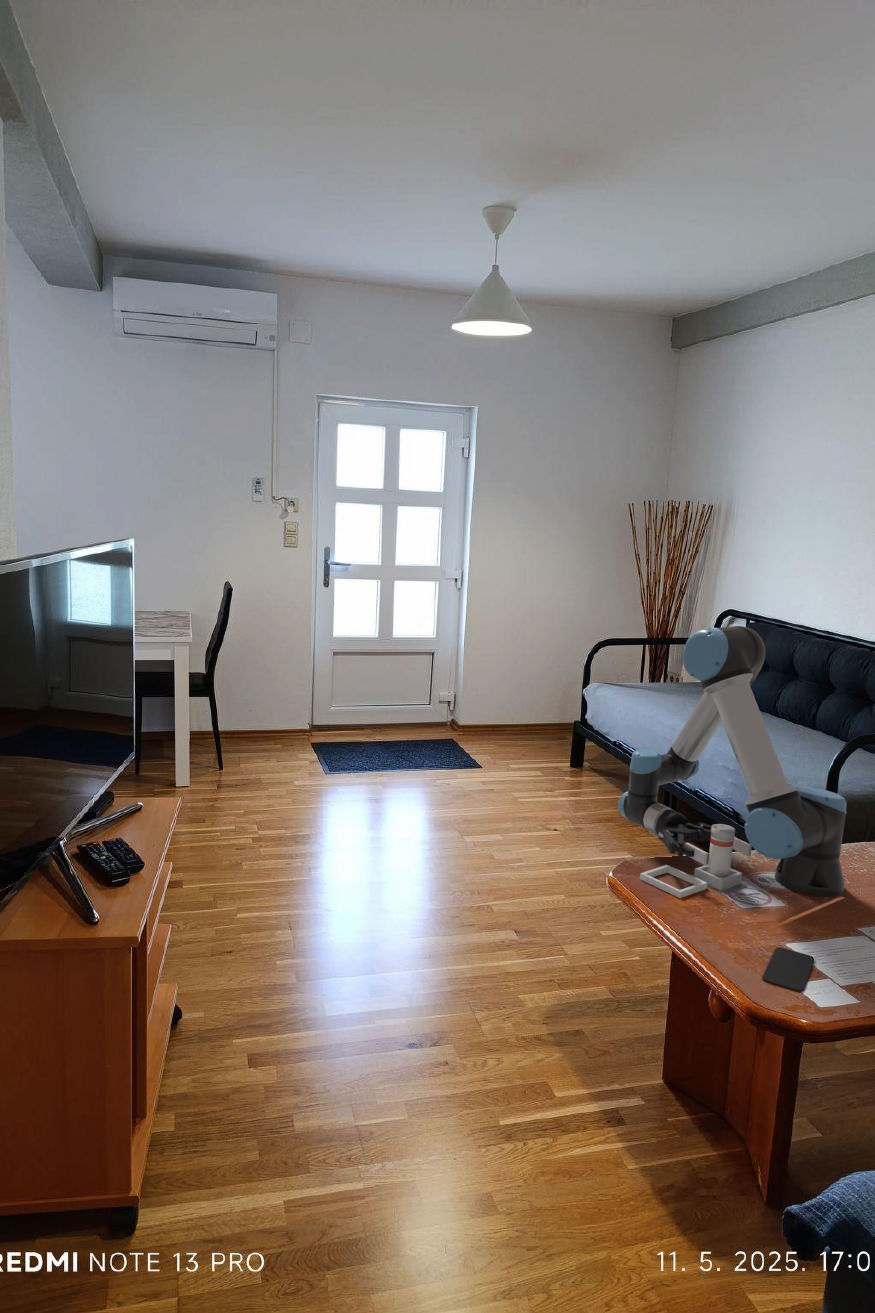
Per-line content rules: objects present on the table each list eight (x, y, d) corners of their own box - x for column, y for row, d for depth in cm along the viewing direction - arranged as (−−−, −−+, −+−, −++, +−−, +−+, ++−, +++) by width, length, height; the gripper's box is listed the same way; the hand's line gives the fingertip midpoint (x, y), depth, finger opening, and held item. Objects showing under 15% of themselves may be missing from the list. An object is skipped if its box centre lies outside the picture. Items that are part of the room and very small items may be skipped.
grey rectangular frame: (706, 891, 206) (707, 882, 206) (679, 900, 200) (680, 892, 200) (666, 872, 215) (667, 864, 215) (639, 881, 209) (640, 873, 209)
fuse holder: (749, 887, 209) (750, 875, 208) (725, 896, 203) (726, 883, 203) (709, 870, 217) (710, 858, 217) (685, 879, 212) (687, 866, 212)
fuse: (733, 882, 210) (739, 829, 208) (720, 887, 207) (726, 834, 204) (715, 874, 214) (720, 822, 212) (701, 879, 211) (706, 826, 209)
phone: (760, 979, 168) (776, 945, 181) (760, 983, 168) (775, 949, 181) (803, 991, 164) (815, 957, 177) (802, 995, 164) (815, 960, 177)
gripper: (702, 831, 232) (766, 862, 213) (625, 844, 221) (685, 878, 202) (705, 803, 230) (769, 832, 212) (627, 814, 219) (688, 846, 201)
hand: (728, 855), depth 207 cm, fingers open, 13 cm apart
